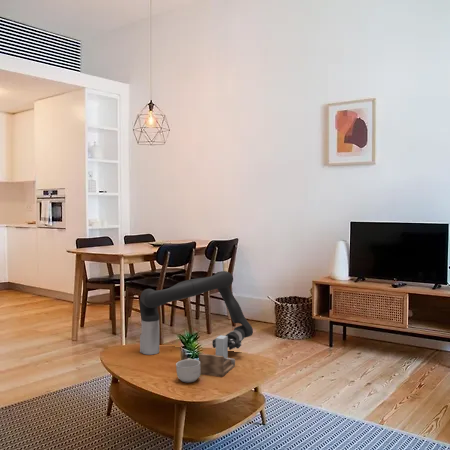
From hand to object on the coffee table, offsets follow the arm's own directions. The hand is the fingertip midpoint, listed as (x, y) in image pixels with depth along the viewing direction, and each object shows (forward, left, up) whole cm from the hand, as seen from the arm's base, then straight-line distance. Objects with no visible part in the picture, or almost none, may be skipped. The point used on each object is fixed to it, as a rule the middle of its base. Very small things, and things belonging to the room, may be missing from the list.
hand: (221, 346), depth 244 cm
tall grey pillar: (0, 0, -7) cm, 7 cm away
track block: (+3, -13, -7) cm, 15 cm away
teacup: (-4, -29, -7) cm, 30 cm away
